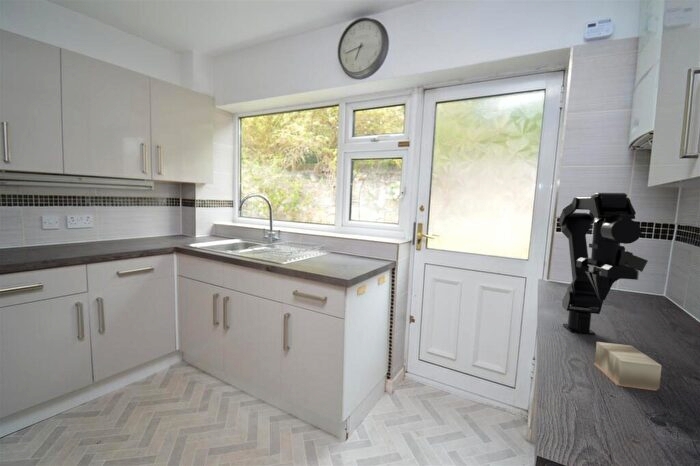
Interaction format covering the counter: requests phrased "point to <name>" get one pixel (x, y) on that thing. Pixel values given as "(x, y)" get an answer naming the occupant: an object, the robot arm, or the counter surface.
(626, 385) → the pad
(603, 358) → the birch block
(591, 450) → the counter surface
